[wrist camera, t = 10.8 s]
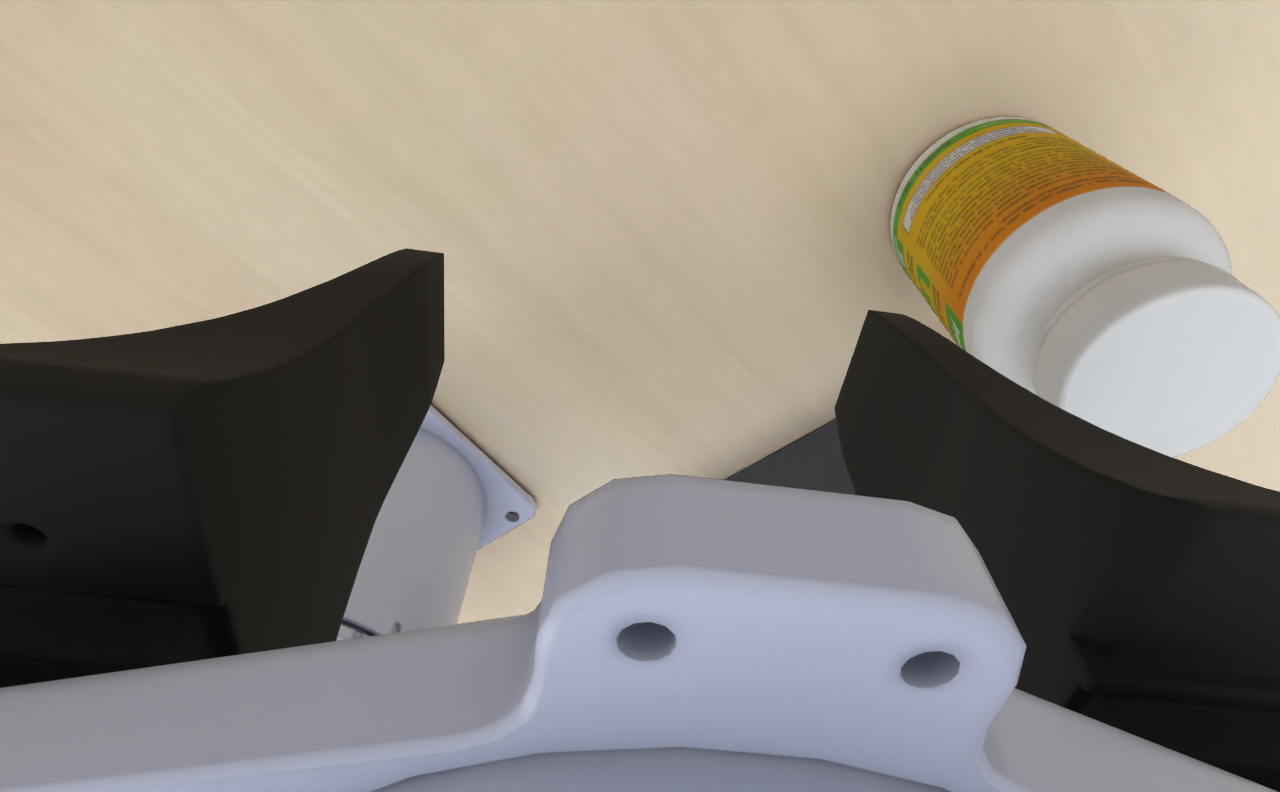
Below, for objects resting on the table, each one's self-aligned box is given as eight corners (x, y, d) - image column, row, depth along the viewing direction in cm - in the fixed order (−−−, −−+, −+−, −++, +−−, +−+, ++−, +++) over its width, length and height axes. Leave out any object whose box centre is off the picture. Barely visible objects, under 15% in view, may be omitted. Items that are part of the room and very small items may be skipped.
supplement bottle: (848, 235, 23) (962, 422, 14) (979, 72, 20) (1206, 188, 12) (977, 319, 24) (1145, 529, 16) (1115, 177, 22) (1396, 342, 13)
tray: (820, 678, 34) (839, 762, 31) (659, 515, 29) (661, 595, 26) (1094, 563, 30) (1150, 644, 27) (966, 345, 25) (1017, 415, 21)
